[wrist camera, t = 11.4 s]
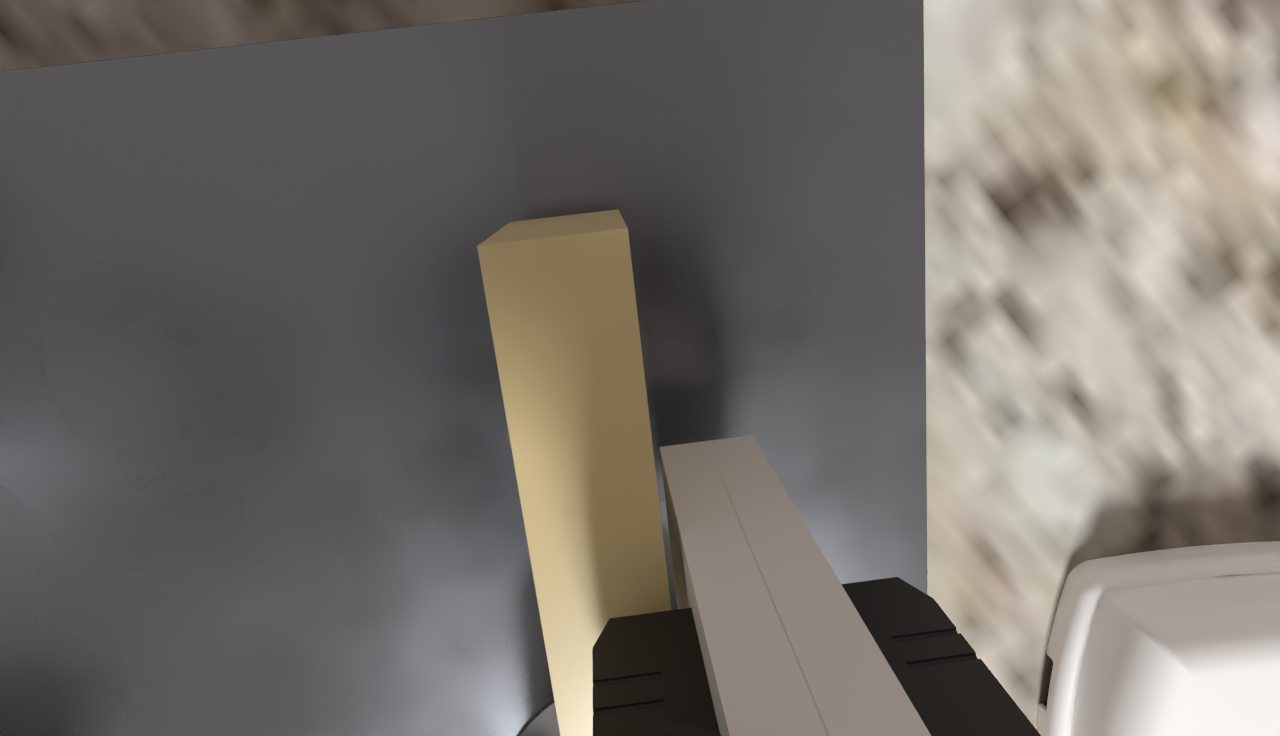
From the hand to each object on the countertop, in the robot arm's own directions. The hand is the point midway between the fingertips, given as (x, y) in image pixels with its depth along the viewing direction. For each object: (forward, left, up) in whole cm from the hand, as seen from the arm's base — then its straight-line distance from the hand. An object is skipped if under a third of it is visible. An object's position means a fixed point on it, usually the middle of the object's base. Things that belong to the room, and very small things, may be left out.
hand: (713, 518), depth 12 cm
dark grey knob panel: (-10, -1, -4) cm, 10 cm away
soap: (+12, -8, -4) cm, 15 cm away
